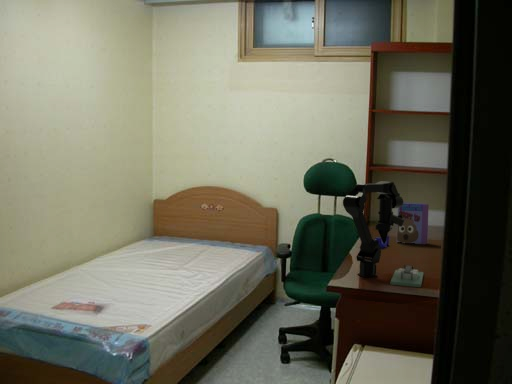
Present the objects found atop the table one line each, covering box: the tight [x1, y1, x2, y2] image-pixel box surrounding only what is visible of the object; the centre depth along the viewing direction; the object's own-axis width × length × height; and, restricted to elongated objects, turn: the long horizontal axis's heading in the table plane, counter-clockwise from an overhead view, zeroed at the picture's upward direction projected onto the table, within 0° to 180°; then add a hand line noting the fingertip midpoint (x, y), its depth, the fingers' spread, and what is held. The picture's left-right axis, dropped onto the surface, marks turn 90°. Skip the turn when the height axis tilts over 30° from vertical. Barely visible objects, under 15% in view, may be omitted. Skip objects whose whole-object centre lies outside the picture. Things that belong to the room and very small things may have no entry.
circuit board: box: [390, 269, 424, 288], centre depth 229 cm, size 24×12×1 cm, turn 160°
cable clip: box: [374, 235, 390, 249], centre depth 309 cm, size 12×4×6 cm, turn 142°
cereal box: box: [396, 202, 430, 245], centre depth 323 cm, size 17×5×24 cm, turn 77°
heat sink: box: [397, 264, 419, 280], centre depth 229 cm, size 13×8×4 cm, turn 160°
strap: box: [403, 265, 412, 274], centre depth 229 cm, size 12×3×1 cm, turn 160°
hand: (384, 243), depth 243 cm, fingers closed
